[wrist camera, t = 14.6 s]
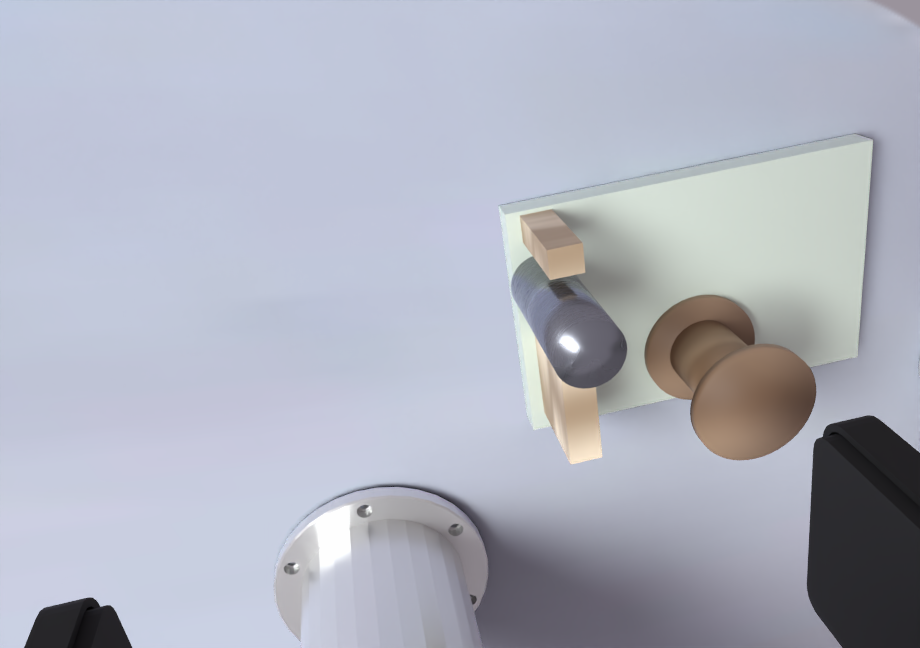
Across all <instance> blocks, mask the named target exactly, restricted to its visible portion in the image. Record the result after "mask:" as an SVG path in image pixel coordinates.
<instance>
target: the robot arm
mask: <svg viewBox="0 0 920 648" xmlns="http://www.w3.org/2000/svg"><path fill="white" fill-rule="evenodd" d="M488 575H489V571H488V558H487V554H486V550H485V547H484V543H483V540H482V538H481V536H480V534H479V532H478V529H477V528H476V526H475V525H474V524H473V522H472V521H471V520H470V518H469V517H468V516H467V515H466V514H465V513H464V512H463V511H461V510H460V509H459V508H458V507H456V506H455V505H454V504H452V503H451V502H449V501H447V500H445V499H443V498H441V497H439V496H437V495H434V494H431V493H428V492H425V491H421V490H418V489H410V488H402V487H379V488H372V489H367V490H361V491H356V492H353V493H350V494H347V495H345V496H342V497H339V498H336V499H334V500H332V501H330V502H329V503H327V504H325V505H323V506H321V507H320V508H318V509H316V510H315V511H314V512H313V513H311V514H310V515H309V516H307V517H306V518H305V519H304V520H302V521H301V522H300V524H299V525H298V526H297V527H296V528H295V529H294V530H293V532H292V533H291V534H290V535H289V536H288V538H287V540H286V542H285V543H284V545H283V547H282V549H281V551H280V553H279V556H278V560H277V563H276V566H275V577H274V596H275V603H276V606H277V609H278V612H279V615H280V617H281V619H282V621H283V622H284V624H285V625H286V627H287V628H288V630H289V631H290V632H291V633H292V634H293V635H294V636H295V637H296V638H297V639H298V640H299V641H300V642H301V648H483V645H482V641H481V637H480V633H479V629H478V625H477V621H476V617H475V613H474V612H475V611H476V609H477V608H478V606H479V605H480V603H481V600H482V598H483V595H484V593H485V591H486V586H487V581H488ZM807 591H808V595H809V599H810V601H811V604H812V606H813V608H814V610H815V612H816V613H817V615H818V616H819V617H820V619H821V620H822V621H823V623H824V624H825V625H826V626H827V628H828V629H829V630H830V632H831V633H832V634H833V636H834V637H835V638H836V640H837V641H838V642H839V644H840V645H841V646H842V647H843V648H920V453H919V452H918V451H917V450H916V449H914V448H913V447H912V446H911V445H910V444H908V443H907V442H906V441H905V440H903V439H902V438H901V437H900V436H899V435H897V434H896V433H895V432H894V431H893V430H891V429H890V428H889V427H888V426H887V425H885V424H884V423H883V422H882V421H881V420H879V419H878V418H876V417H874V416H869V415H868V416H863V417H859V418H855V419H850V420H846V421H842V422H838V423H833V424H830V425H828V426H827V427H826V428H825V430H824V434H823V437H822V438H819V439H817V440H816V441H815V443H814V450H813V470H812V491H811V512H810V532H809V553H808V574H807ZM24 648H132V646H131V644H130V642H129V640H128V637H127V635H126V633H125V631H124V629H123V627H122V624H121V622H120V620H119V618H118V616H117V613H116V612H115V610H114V608H113V607H111V606H110V605H107V606H102V607H100V605H99V604H98V602H97V601H96V600H95V599H93V598H85V599H80V600H76V601H72V602H68V603H63V604H59V605H55V606H50V607H46V608H44V609H42V610H41V611H40V612H39V614H38V616H37V618H36V620H35V622H34V625H33V627H32V630H31V632H30V635H29V637H28V640H27V642H26V645H25V647H24Z"/></svg>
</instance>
